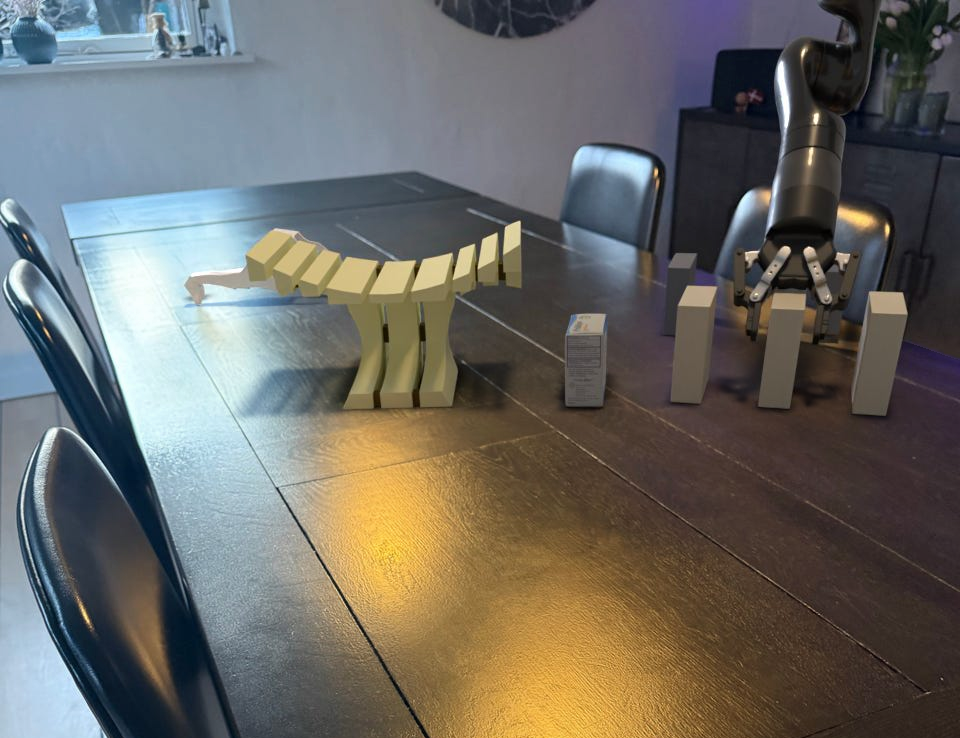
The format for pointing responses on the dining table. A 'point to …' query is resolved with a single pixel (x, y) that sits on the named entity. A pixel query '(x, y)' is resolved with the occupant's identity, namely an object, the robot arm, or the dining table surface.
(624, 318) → the dining table surface
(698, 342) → the cream blocks
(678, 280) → the grey blocks
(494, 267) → the slatted curved stool
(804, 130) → the robot arm
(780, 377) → the beige rectangular block
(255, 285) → the horse figurine
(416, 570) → the dining table surface
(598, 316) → the medicine box
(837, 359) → the dining table surface
